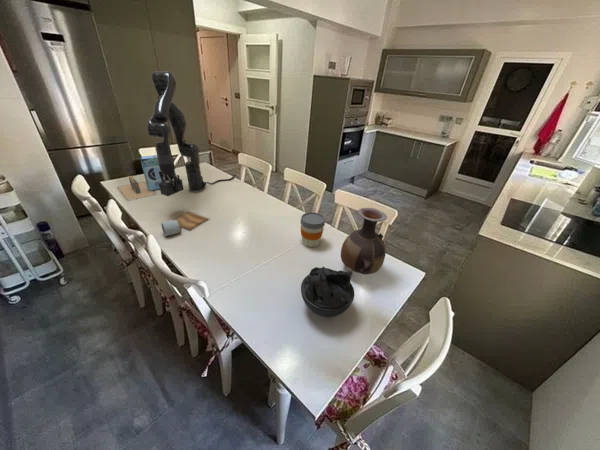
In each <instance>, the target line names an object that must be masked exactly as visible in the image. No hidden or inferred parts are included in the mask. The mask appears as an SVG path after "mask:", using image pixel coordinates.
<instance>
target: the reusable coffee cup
mask: <svg viewBox="0 0 600 450" xmlns="http://www.w3.org/2000/svg"><path fill="white" fill-rule="evenodd" d="M325 225H326V219H325V216H324V215H322V214H321V213H318V212H312V211H311V212H310V211H309V212H305V213H303V214H302V215H301V218H300V235H301V241H302V244H303V245H304V246H306V247H309V248H314V247H318V245H319V244H320V241H321V238H322V236H323V233H324V227H325Z"/></svg>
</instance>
